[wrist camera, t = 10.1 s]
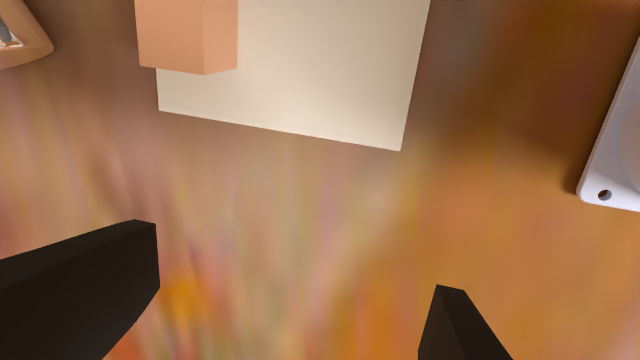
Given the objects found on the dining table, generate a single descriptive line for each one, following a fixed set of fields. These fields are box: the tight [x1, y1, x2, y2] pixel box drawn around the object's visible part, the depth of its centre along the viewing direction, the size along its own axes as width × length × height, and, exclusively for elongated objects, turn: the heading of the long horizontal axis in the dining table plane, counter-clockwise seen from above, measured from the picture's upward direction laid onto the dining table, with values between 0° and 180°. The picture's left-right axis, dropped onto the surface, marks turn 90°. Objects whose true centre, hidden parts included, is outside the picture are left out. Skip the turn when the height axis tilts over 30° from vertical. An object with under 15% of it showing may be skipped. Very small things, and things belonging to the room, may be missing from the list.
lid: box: [134, 0, 431, 151], centre depth 16 cm, size 13×10×4 cm
